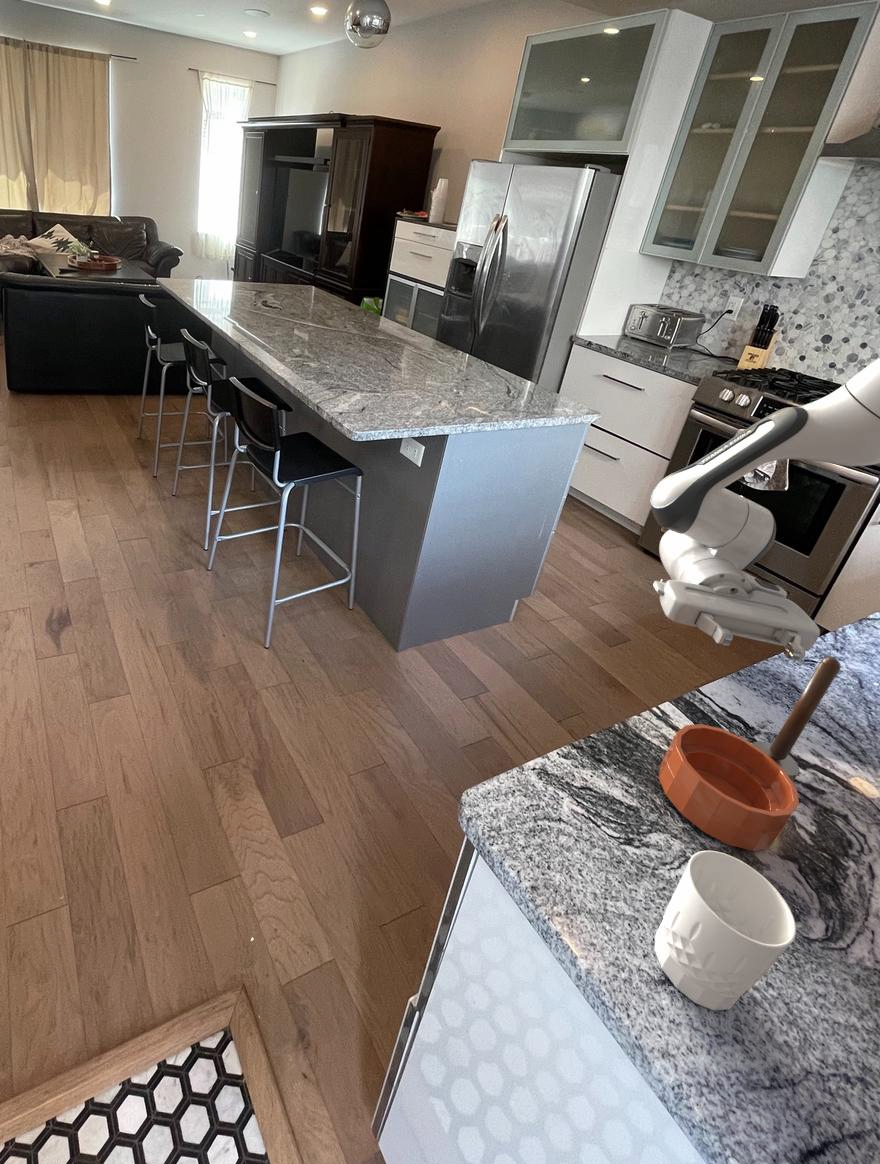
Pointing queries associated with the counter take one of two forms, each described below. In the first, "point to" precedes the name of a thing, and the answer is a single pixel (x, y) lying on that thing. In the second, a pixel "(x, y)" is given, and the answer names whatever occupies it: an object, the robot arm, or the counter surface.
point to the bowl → (727, 787)
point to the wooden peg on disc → (800, 716)
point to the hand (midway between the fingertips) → (761, 648)
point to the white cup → (722, 930)
